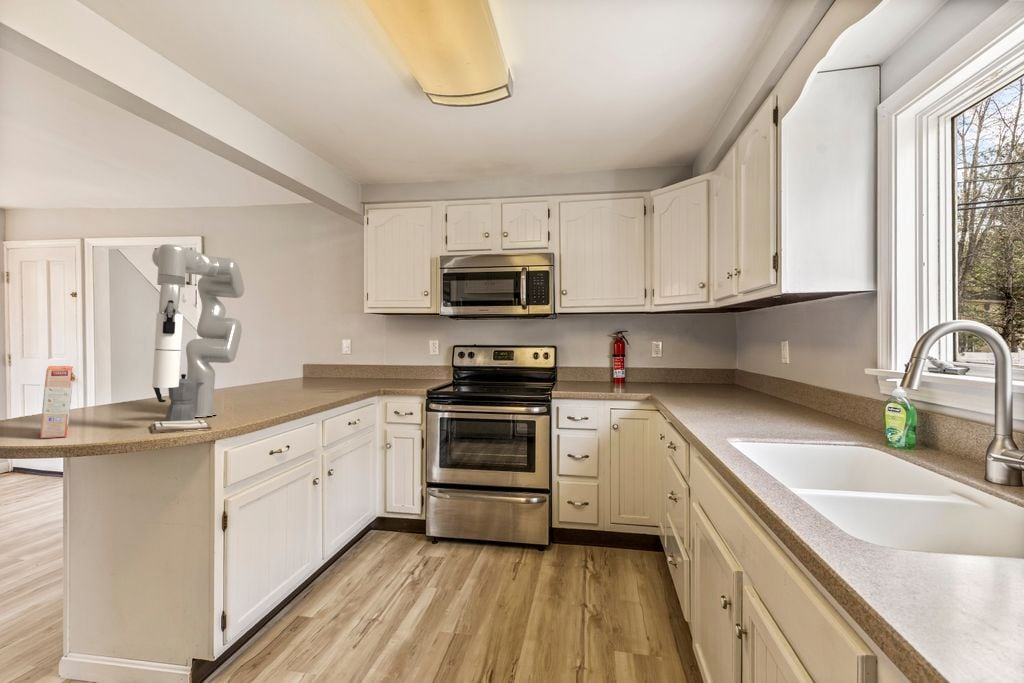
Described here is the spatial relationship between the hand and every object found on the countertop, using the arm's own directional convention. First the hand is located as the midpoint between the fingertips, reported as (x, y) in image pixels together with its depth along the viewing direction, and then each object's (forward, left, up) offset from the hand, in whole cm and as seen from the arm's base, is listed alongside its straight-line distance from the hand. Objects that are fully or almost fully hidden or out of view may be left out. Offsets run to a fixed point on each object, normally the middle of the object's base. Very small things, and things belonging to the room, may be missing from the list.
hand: (168, 333), depth 153 cm
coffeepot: (-18, +6, -33) cm, 38 cm away
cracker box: (-3, -26, -33) cm, 42 cm away
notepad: (-2, +6, -33) cm, 34 cm away
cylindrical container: (0, 0, -18) cm, 18 cm away
